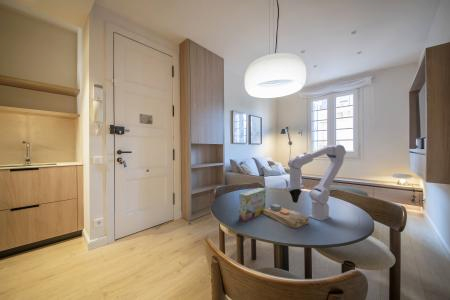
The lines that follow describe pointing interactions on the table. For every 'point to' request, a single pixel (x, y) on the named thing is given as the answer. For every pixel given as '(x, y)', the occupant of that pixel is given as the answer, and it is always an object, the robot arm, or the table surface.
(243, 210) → the snack box
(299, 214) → the cream key
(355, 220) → the table surface
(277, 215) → the key console
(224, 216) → the table surface
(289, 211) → the terracotta key
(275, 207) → the slate key
